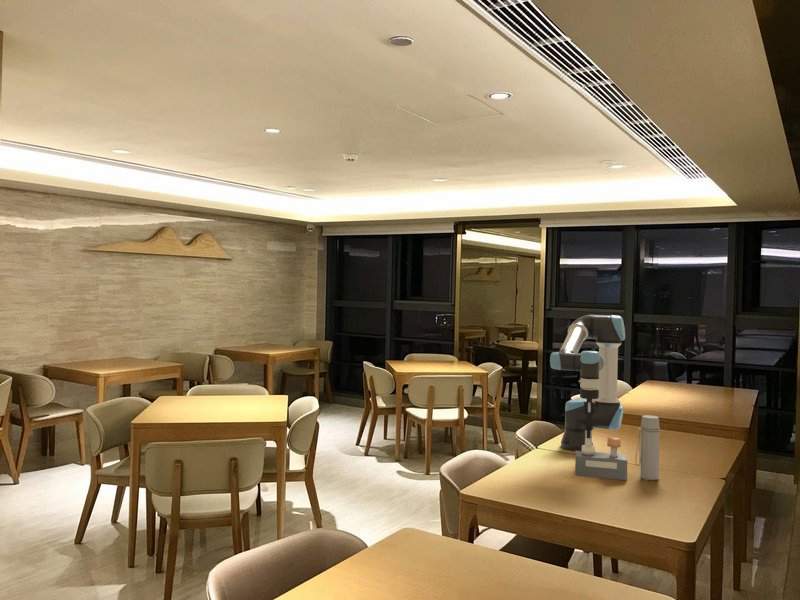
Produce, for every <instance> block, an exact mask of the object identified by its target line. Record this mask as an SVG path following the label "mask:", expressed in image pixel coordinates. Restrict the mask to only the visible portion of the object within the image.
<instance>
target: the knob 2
mask: <svg viewBox="0 0 800 600" xmlns="http://www.w3.org/2000/svg"><path fill="white" fill-rule="evenodd" d="M621 440H622V439H621V438H619V437H615V436H613V437H612V436H611V437H610V436H608V437H607V441H606V444H607V445H606V446H607V447H609V448H610V453H611V457H615V458H617V454H618V448H621V443H622V441H621Z"/></svg>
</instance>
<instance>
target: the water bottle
mask: <svg viewBox="0 0 800 600" xmlns="http://www.w3.org/2000/svg"><path fill="white" fill-rule="evenodd" d="M660 431H661V427H660V418H659V416H657V415H650V414H648V415H647V414H644V415H642V416H641V421H640V427H638V437H637V438H638V439H637V446H636V453H635V466H636V467H640V469H639V471H640V478H641V479H643V480H646V481H657V480H659V478H660V438H661V437H660V436H661V434H660ZM639 446H640V459H639V463H638V464H637V456H638V452H639V451H638V450H639Z"/></svg>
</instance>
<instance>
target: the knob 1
mask: <svg viewBox="0 0 800 600" xmlns="http://www.w3.org/2000/svg"><path fill="white" fill-rule="evenodd" d="M595 452H596V446H595V445H594V444H593V445H592V446H585V445H582V454H585V455H594V454H595Z"/></svg>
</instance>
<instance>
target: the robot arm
mask: <svg viewBox="0 0 800 600" xmlns="http://www.w3.org/2000/svg"><path fill="white" fill-rule="evenodd" d="M587 339H589V340H590V339H591V340H595V344H596V345H597V346H598V351H595V350H583V351H581V353H579V351H580V348H581V347H582V344H583V342H584V341H585V340H587ZM625 340H626V329H625V322H624V319H623V317H622V316H620V315H614V314H585V315H583V316H581V317H578V318H577V319H575V320H574V321H573V322H571V324H570V325H569V327H568V329H567V335H566V337H565V340H564V342H563V343H562V345H561V347H560V349H559V351H556V352H555V351H553V352H552V353H550V356H549V357H550V358H549V363H550V365H549V366H550V368H551V369H552V370H558V371H576V372H579V373H580V374H579V375H580V376H579V378H580V379H579V380H578V383H579V385H580V389H579V397H580V398H579V399H570V400H568V401H566V402H565V407H564V408H565V409H564V431H563V436H562V438H561V441H560V447H561V448H563V449H564V450H565V449H566V450H570V451H575V452H576V451H582V445H585V446H592V445H593V446H594V443H593V430H594V428H595V429H604V430H609V431H610V430H613V431H615V430H616V431H617V430H619V429H620V427H621V425H622V421H623V415H624V405H622V404H621V400H620V399H619V398H618V369H619V368H618V364H619V363H618V361H619V354H618V353H619V347H620V346H621V345H622V341H625ZM593 400H594V401H593Z"/></svg>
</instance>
